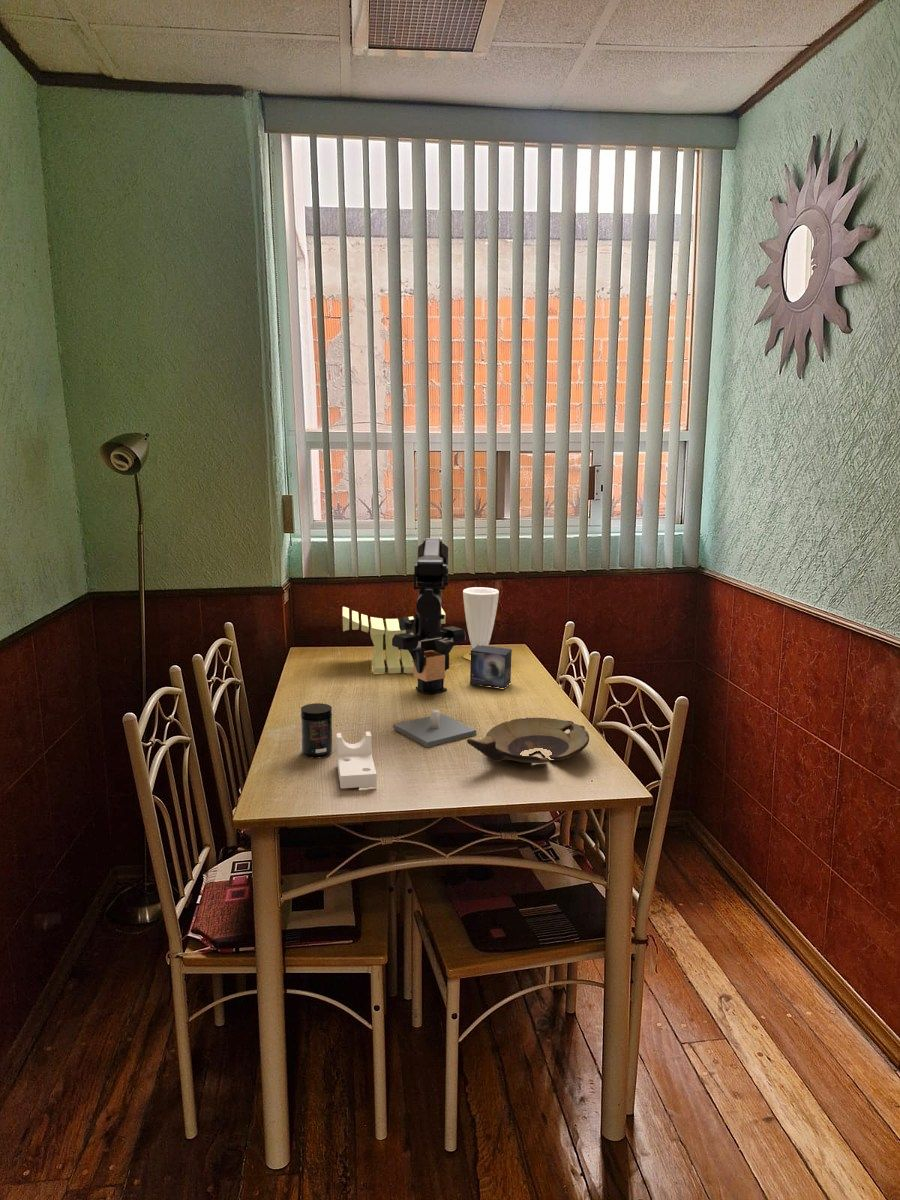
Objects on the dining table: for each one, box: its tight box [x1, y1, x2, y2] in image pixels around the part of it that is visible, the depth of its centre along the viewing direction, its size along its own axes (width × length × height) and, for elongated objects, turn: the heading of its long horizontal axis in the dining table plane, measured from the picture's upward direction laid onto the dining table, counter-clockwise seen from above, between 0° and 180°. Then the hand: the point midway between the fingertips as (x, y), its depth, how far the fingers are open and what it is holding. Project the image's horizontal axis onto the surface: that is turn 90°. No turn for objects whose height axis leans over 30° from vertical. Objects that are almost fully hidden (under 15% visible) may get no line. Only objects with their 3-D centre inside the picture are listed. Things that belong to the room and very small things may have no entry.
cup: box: [462, 586, 500, 655], centre depth 257 cm, size 12×12×22 cm
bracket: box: [336, 730, 378, 789], centre depth 166 cm, size 13×7×8 cm, turn 11°
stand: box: [393, 709, 477, 748], centre depth 192 cm, size 14×14×5 cm
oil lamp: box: [466, 717, 590, 764], centre depth 178 cm, size 22×30×8 cm
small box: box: [469, 645, 513, 688], centre depth 229 cm, size 11×6×10 cm, turn 68°
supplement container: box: [300, 702, 333, 759], centre depth 178 cm, size 7×7×10 cm
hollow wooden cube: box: [413, 650, 446, 682], centre depth 202 cm, size 6×6×6 cm
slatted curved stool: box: [342, 606, 447, 674], centre depth 245 cm, size 30×16×18 cm, turn 97°
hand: (429, 671), depth 202 cm, fingers closed on hollow wooden cube, 6 cm apart
